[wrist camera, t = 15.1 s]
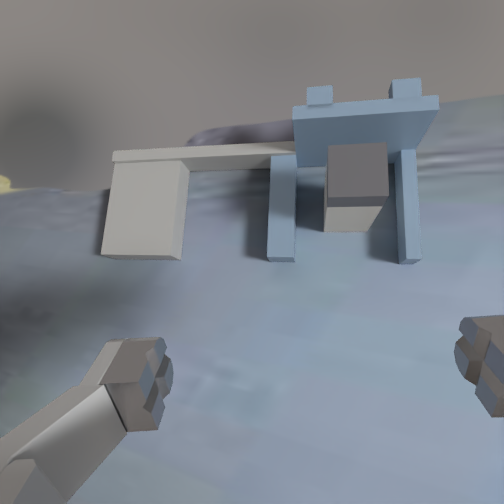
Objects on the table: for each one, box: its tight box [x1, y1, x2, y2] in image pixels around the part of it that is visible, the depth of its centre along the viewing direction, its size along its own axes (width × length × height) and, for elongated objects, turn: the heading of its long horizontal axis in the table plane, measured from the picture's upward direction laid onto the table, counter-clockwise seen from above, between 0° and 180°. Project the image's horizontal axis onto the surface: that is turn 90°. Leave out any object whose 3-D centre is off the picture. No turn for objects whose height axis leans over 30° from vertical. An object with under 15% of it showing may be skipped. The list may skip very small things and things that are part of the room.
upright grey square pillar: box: [324, 142, 389, 232], centre depth 26 cm, size 4×4×9 cm
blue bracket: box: [267, 78, 439, 264], centre depth 27 cm, size 13×13×8 cm
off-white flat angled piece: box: [101, 141, 296, 260], centre depth 32 cm, size 19×11×3 cm, turn 87°
